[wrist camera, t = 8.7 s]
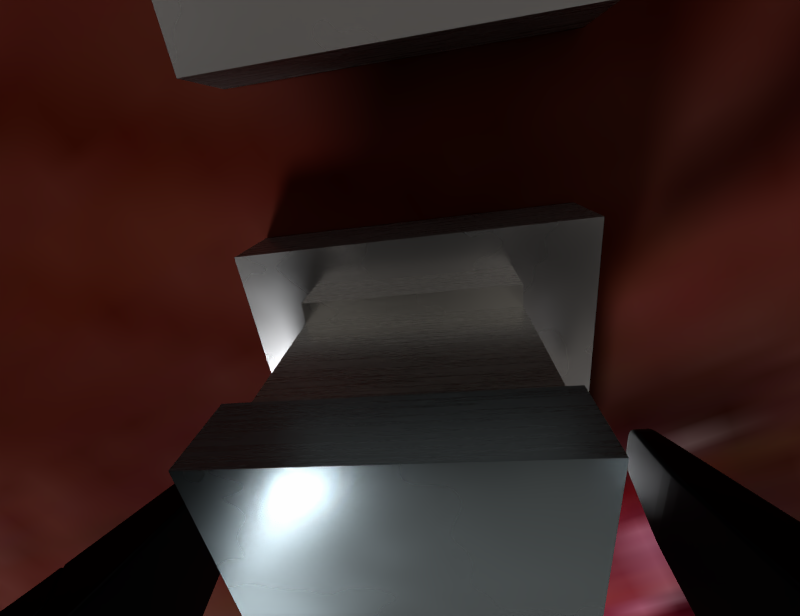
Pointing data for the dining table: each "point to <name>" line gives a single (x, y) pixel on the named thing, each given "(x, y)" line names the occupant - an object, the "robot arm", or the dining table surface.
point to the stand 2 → (443, 271)
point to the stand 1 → (342, 32)
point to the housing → (411, 463)
